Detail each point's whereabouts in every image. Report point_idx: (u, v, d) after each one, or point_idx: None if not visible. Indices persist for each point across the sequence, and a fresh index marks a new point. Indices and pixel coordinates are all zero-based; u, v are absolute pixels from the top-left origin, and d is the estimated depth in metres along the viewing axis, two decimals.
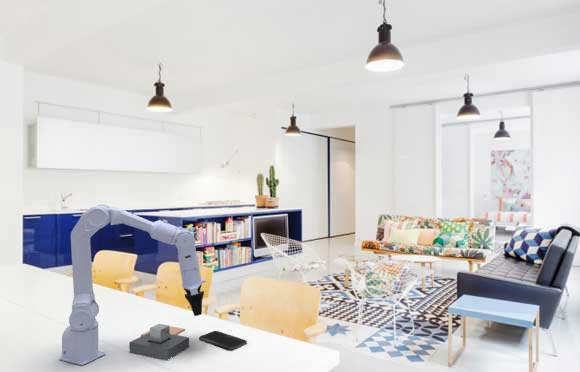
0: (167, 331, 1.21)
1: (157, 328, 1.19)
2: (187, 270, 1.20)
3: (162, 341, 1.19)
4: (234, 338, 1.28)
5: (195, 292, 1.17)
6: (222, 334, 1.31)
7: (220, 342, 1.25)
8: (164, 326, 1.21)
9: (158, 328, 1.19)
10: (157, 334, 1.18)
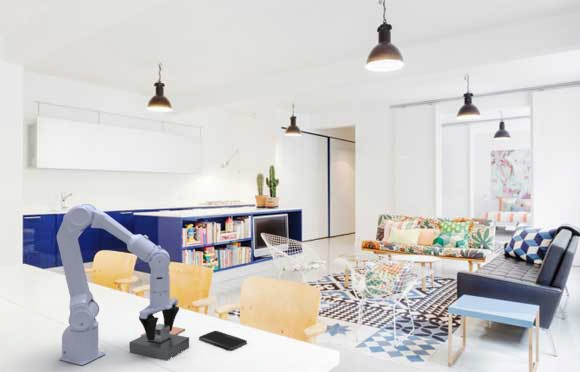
0: (167, 331, 1.21)
1: (157, 328, 1.19)
2: (151, 291, 1.18)
3: (162, 341, 1.19)
4: (234, 338, 1.28)
5: (143, 316, 1.13)
6: (222, 334, 1.31)
7: (220, 342, 1.25)
8: (164, 326, 1.21)
9: (158, 328, 1.19)
10: (157, 334, 1.18)
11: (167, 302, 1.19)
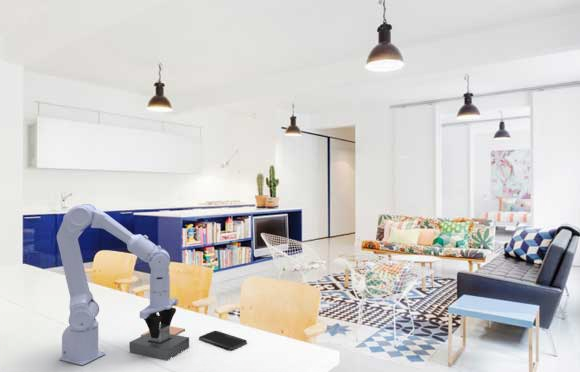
0: (167, 331, 1.21)
1: None
2: (151, 291, 1.18)
3: (162, 341, 1.19)
4: (234, 338, 1.28)
5: (143, 316, 1.13)
6: (222, 334, 1.31)
7: (220, 342, 1.24)
8: (164, 326, 1.21)
9: None
10: None
11: (167, 302, 1.19)
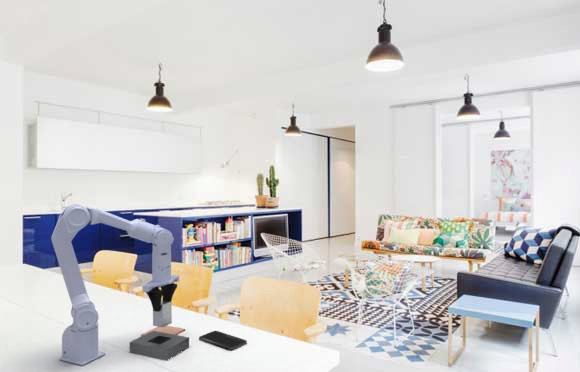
0: (169, 306, 1.26)
1: None
2: (153, 267, 1.24)
3: (164, 316, 1.24)
4: (234, 338, 1.28)
5: (145, 289, 1.19)
6: (222, 334, 1.31)
7: (220, 342, 1.25)
8: (166, 302, 1.26)
9: None
10: None
11: (169, 277, 1.25)
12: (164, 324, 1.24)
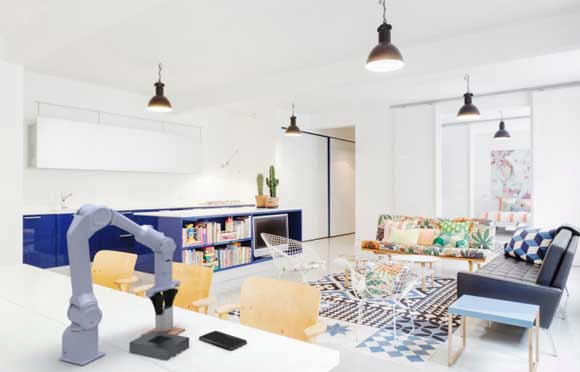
0: (171, 311, 1.34)
1: None
2: (155, 273, 1.31)
3: (166, 320, 1.32)
4: (234, 338, 1.28)
5: (148, 294, 1.27)
6: (222, 334, 1.31)
7: (220, 342, 1.25)
8: (168, 307, 1.34)
9: None
10: (162, 314, 1.31)
11: (170, 283, 1.32)
12: (166, 328, 1.31)
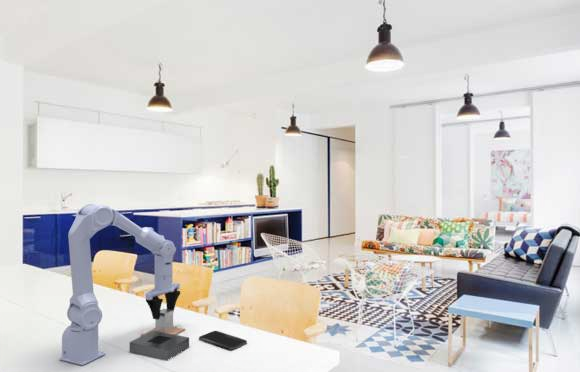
0: (171, 315, 1.34)
1: (162, 312, 1.32)
2: (155, 276, 1.31)
3: (166, 324, 1.32)
4: (234, 338, 1.28)
5: (148, 297, 1.27)
6: (222, 334, 1.31)
7: (220, 342, 1.25)
8: (168, 310, 1.34)
9: (163, 312, 1.32)
10: (162, 318, 1.31)
11: (170, 286, 1.32)
12: (166, 332, 1.31)
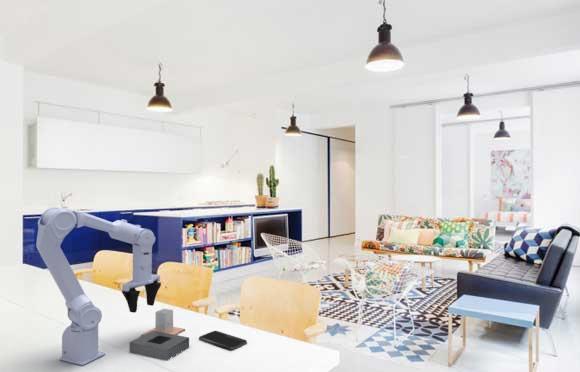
0: (171, 315, 1.34)
1: (162, 312, 1.32)
2: (133, 266, 1.25)
3: (166, 324, 1.32)
4: (234, 338, 1.28)
5: (125, 289, 1.20)
6: (222, 334, 1.31)
7: (220, 342, 1.25)
8: (168, 310, 1.34)
9: (163, 312, 1.32)
10: (162, 318, 1.31)
11: (149, 277, 1.26)
12: (166, 332, 1.31)
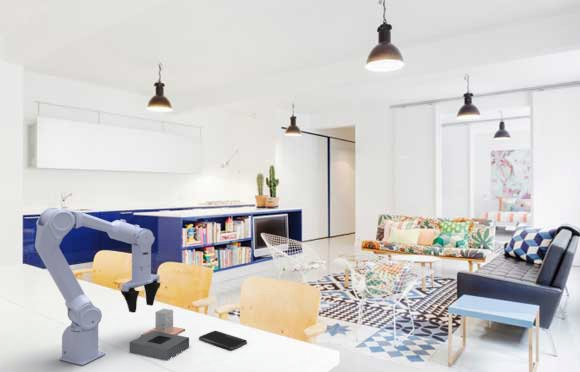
0: (171, 315, 1.34)
1: (162, 312, 1.32)
2: (133, 266, 1.25)
3: (166, 324, 1.32)
4: (234, 338, 1.28)
5: (124, 289, 1.20)
6: (222, 334, 1.31)
7: (220, 342, 1.25)
8: (168, 310, 1.34)
9: (163, 312, 1.32)
10: (162, 318, 1.31)
11: (148, 277, 1.26)
12: (166, 332, 1.31)
